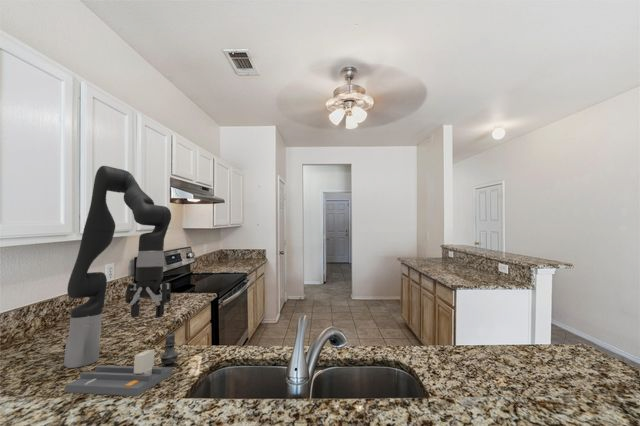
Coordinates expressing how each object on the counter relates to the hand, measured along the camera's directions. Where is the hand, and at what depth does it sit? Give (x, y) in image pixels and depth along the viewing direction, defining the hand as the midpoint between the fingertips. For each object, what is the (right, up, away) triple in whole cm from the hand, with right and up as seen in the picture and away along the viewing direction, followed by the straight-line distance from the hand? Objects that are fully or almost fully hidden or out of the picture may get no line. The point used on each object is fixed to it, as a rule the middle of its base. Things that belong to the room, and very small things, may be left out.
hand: (147, 317), depth 86 cm
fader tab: (+1, -17, -3) cm, 17 cm away
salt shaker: (+1, -21, +10) cm, 24 cm away
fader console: (-7, -20, -2) cm, 21 cm away
